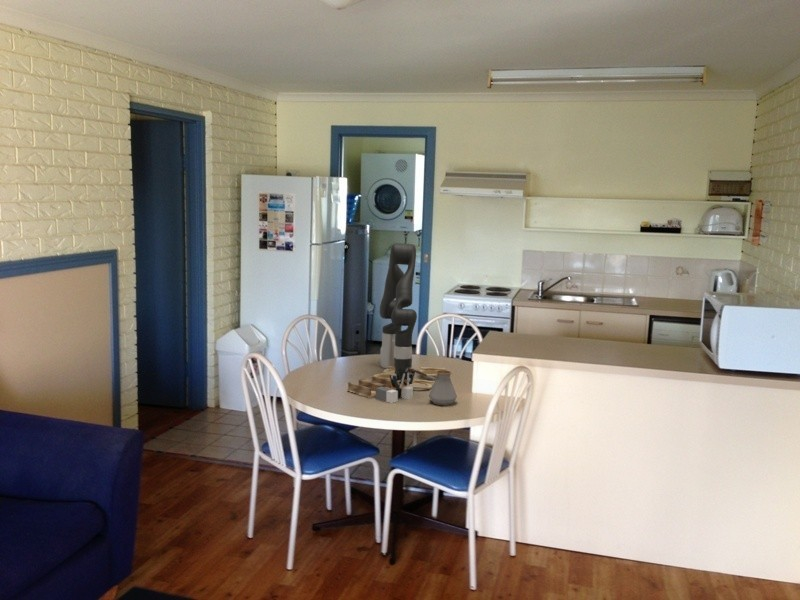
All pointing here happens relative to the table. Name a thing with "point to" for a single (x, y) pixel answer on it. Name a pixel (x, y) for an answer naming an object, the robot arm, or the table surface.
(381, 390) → the two-tone square pillar
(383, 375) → the tableware set
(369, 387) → the brown wooden divided tray
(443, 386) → the coffee pot
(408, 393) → the orange white rectangular block
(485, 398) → the table surface
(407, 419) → the table surface
